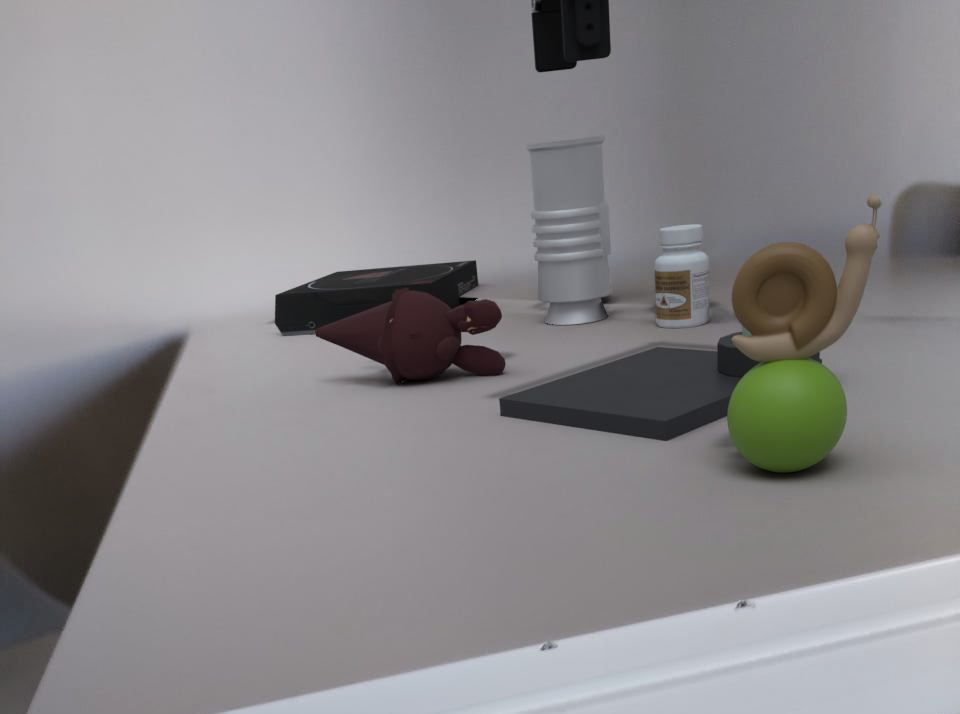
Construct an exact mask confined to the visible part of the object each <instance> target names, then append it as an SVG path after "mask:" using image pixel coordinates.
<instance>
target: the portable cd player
mask: <svg viewBox="0 0 960 714" xmlns="http://www.w3.org/2000/svg"><path fill="white" fill-rule="evenodd" d="M477 265H478V264H477V259H475V260H461V261H449V262H438V263H427V264H425V263H424V264H414V265H402V266H390V267H389V266H388V267H379V268H378V267H375V268H366V269H364V268H363V269H353V270H341V271H340V270H339V271H335V272H333V273H330V274H327V275H325V276H322V277H319V278H317V279H314V280H311V281H309V282H306V283H304V284H301V285H298V286H295V287H293V288H290V289H288V290H284V291H282V292H280V293H277V294H274V295H275V297H274V324H275V326H276V328H277V330H278V331H279V332H280V334H281V335H282V337H286V336H289V337H290V336H304V334H305V335H315V330H316V329H318V328H320V327H322V326H325V325H328V324H330V323H333V322H336V321H338V320H341V319H344V318H347V317H349V316H352V315H355V314H357V313H360V312H363V311H366V310H368V309H371V308H374V307H376V306H379V305H382V304H384V303H387V302H390V301H393V298H392V295H393V293H394V292H395V291H396V289H400V290H401V289H403V288H405V287H406V288H408V289H409V290H410V291H412V290H413V291H419V292H425V293H429V294H430V295H432V296H434V297H436V298H438V299H439V300H441V301H442V302H444V303H445V304H447V305H448V306H449V307H450V308H451V309H454V308H456V307H458V306H460V305H464V304H465V303H467V302H468V301H475V300H476V299H478V298H479V297H465V296H463V295H466V294H467V293H468V292H470V291H472V290H474V289H475V288H477V287H478V286H479V277H478V267H477ZM478 300H479V299H478ZM476 301H477V300H476Z"/></svg>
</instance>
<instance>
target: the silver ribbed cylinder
mask: <svg viewBox="0 0 960 714" xmlns="http://www.w3.org/2000/svg"><path fill="white" fill-rule="evenodd" d="M605 138H606V137H605V134H602V135H601V134H600V135H590V136H582V137H573V138H572V137H571V138H564V139H556V140H548V141H547V140H546V141H539V142H532V143H526V145H525V146H526V147H525V148H526V150H527V151H528V152H529V159H530V160H529V161H530V172H531V173H530V174H531V187H532V198H533V199H532V200H533V210H532V211H531V213H530V219H531V220H534V224H533V226H532V227H531V232H532V234H535V238H534V239H533V241H532V246H533V247H535V248H536V250H537V251H535V253H534V254H533V258H534V259H533V260H534V261H536V262H537V299H538V301H540V302H541V303H547V304H548V303H549V306H548V309H547V313H546V316H545V318H544V323H545V324H547V323H548V324H547V325H552V324H553V325H554V326H570V325H580V324H588V323H594V322H599V321H602V320H605V319H607V318H608V317H609V312H607V309H606V307H605V305H604V303H603V302H602V298H606V297H608V296H610V295H611V294H612V292H613V290H612V281H611V274H610V266H609V257H608V256H610V255H612V247H611V228H610V227H611V225H610V206H609V204H608V203H607V202H605V201H606V200H605V181H604V162H603V161H604V160H603V143H604V142H605Z"/></svg>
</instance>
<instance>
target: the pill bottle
mask: <svg viewBox="0 0 960 714" xmlns="http://www.w3.org/2000/svg"><path fill="white" fill-rule="evenodd" d="M703 229H704V227H703V225H702V224H699V223H697V224H693V223H692V224H680V225H678V224H677V225H672V226H671V225H670V226H666V227H662V228H660V229H659V244H660V245H659V248H660V249H662V254H661V255H659V256H658V257H657V258H656V259H655V261H654V290H655V291H654V292H655V323H656V325H657V326H658V327H659V328H662V329H689V328H696V327H700V326H704V325H705V324H707V323H708V322H709V321H710V262H709V261H710V260H709V256H708V255H707V254H706V253H705V252H704V251H701V245H702V244H703V240H704V233H703V231H704V230H703Z"/></svg>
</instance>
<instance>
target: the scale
mask: <svg viewBox="0 0 960 714" xmlns="http://www.w3.org/2000/svg"><path fill="white" fill-rule="evenodd" d="M736 335H742V331H737V332H733V333H730V334H727V335H724V336H721V337H720V338H719V339H718V341H717V344H716V345H717V350H707V349H706V350H705V349H693V348H679V347H665V346H656V347H652V348H650V349H646V350H643V351H640V352H637V353H634V354H631V355H629V356H625V357H622V358H619V359H615V360H613V361H610V362H606V363H604V364H601V365H598V366H594V367H591V368H588V369H585V370H582V371H580V372H576V373H572V374H570V375H566V376H564V377H561V378H558V379H554V380H551V381H548V382H545V383H541V384H539V385H536V386H532V387H530V388H527V389H523V390H521V391H517V392H513V393H512V394H509V395H506V396H502V397H499V399H498V401H499V411H500V417H505V418H511V419H512V418H513V419H518V420H523V421H531V422H535V423H544V424H550V425H557V426H562V427H570V428H577V429H583V430H588V431H589V430H590V431H597V432H603V433H610V434H617V435H623V436H630V437H635V438H643V439H648V440H654V441H655V440H656V441H661V442H662V441H663V442H668V441H671V440H673V439H675V438H678V437H680V436H683V435H685V434H688V433H690V432H693V431H696V430H697V429H699V428H702V427H705V426H707V425H709V424H712V423H714V422H717V421H719V420H721V419H723V418H727V413H728V406H729V402H730V398H731V396H732V393H733V391H734V389H735V387H736V386H737V384H738V383H739V381H740V380H741V379H742V377H743V376H744V375H745V374H746V373H747V372H748V371H750V370H751V369H752V368H753V367H755V366H756V365H758V364H759V363H761V362H759V361H755V360H753V359H751V358H749V357H748V356H746V355H745V354H744V353H742V352H741V351H740V350H739V349H738V348H737V347H736V346H735V345H734V344H733V342H732V337H733V336H736ZM820 357H821V351H820V352H818V353H817V354H814V355H813V356H811V357H809V358H811V359H813V360H815V361H817V362H819V363H821V364H823V359H822V358H820Z"/></svg>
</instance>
